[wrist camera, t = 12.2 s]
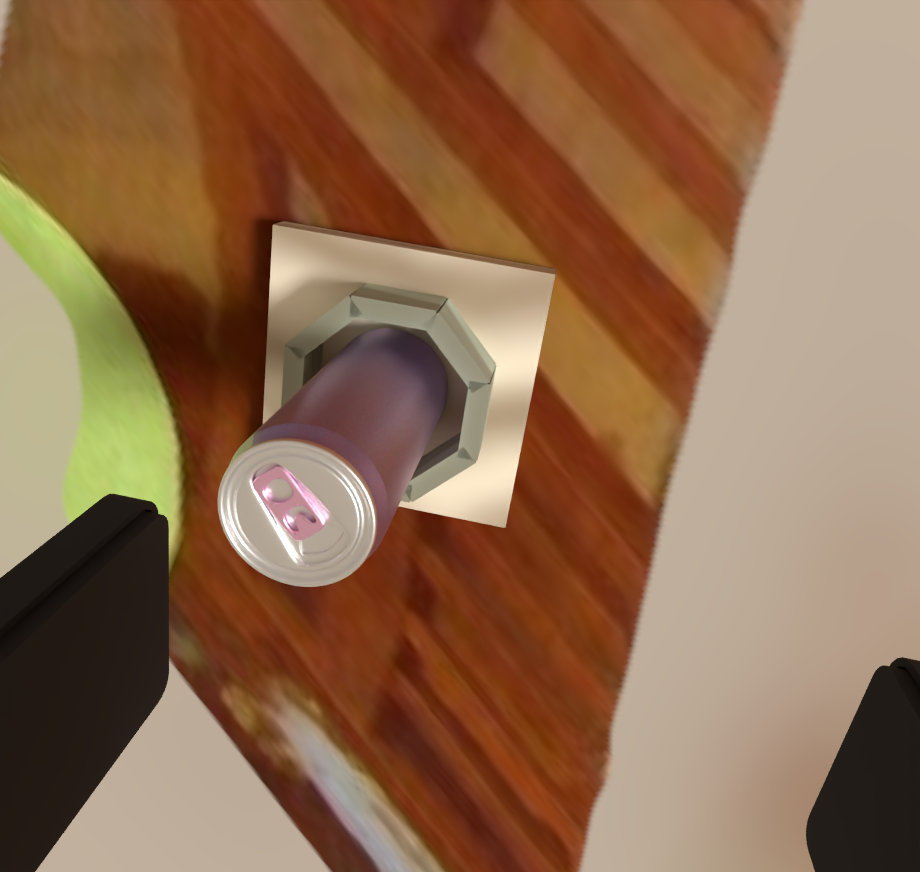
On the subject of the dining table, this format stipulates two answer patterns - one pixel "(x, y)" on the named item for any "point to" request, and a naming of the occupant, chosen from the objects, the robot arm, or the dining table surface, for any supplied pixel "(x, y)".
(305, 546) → the beverage can
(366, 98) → the dining table surface
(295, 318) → the can holder
